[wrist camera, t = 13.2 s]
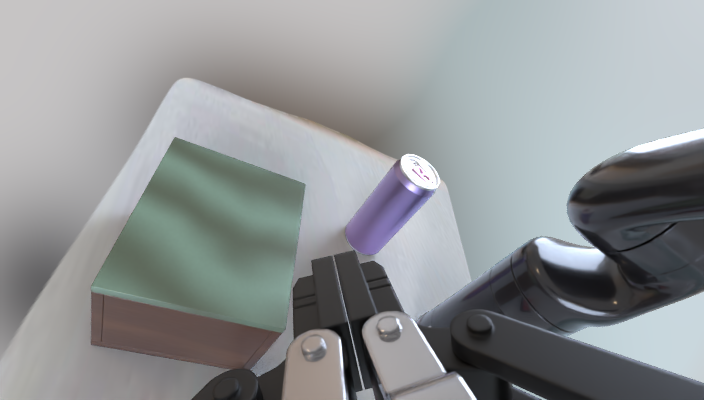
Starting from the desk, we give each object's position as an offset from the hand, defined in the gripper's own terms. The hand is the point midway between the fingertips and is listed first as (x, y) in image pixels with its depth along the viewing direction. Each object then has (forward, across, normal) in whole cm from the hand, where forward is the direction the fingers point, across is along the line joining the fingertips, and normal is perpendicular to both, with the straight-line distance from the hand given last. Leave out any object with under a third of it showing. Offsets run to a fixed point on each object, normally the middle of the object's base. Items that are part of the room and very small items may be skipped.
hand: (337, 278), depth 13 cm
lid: (+21, +9, +5) cm, 23 cm away
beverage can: (+38, -5, +18) cm, 42 cm away
